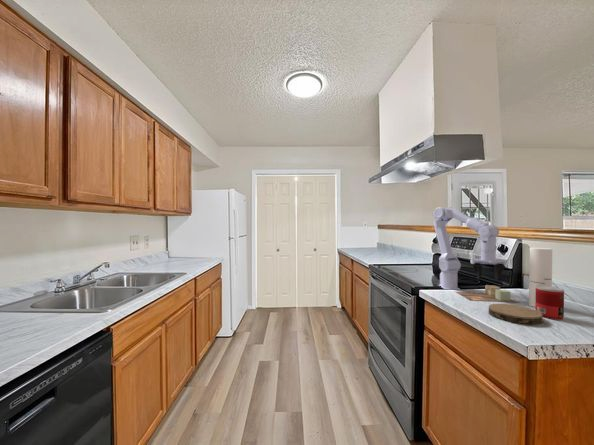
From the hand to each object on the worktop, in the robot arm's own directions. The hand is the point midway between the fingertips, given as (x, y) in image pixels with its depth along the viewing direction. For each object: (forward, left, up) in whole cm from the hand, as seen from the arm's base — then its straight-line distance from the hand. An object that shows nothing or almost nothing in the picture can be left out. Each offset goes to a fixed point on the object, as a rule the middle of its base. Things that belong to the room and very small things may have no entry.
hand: (487, 279), depth 128 cm
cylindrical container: (+11, +15, -9) cm, 21 cm away
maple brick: (-5, +5, -8) cm, 11 cm away
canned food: (+23, +10, -9) cm, 27 cm away
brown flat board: (0, -1, -9) cm, 9 cm away
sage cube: (+3, +5, -8) cm, 10 cm away
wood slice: (+26, -4, -9) cm, 28 cm away
